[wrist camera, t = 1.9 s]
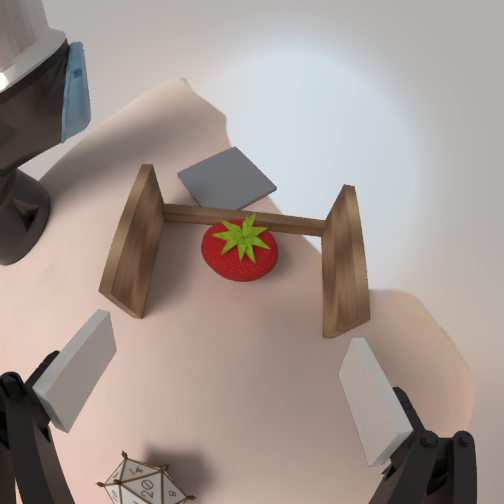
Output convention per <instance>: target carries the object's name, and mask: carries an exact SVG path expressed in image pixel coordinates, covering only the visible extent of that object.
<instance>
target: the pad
mask: <svg viewBox="0 0 504 504" xmlns="http://www.w3.org/2000/svg"><path fill="white" fill-rule="evenodd" d="M177 176H178V177H179V179H180V180H181V181H182V183H183V184H184V185H185V187H186V188H187V189H188V190H189V192H190V193H191V194H192V196H193V197H194V198H195V200H196V201H197V202H198V204H199V205H200V206H201V207H211V208H221V209H232V210H241V209H243V208H244V207H246V206H248V205H250V204H252V203H253V202H255V201H257V200H259V199H261V198H263V197H265V196H266V195H268V194H270V193H272V192H274V191H276V189H277V187H276V186H275V185H274V184H273V183H272V182H271V181H270V180H269V179H268V178H267V177H266V176H265V175H264V174H263V173H262V172H261V171H260V170H259V169H258V168H257V167H256V166H255V165H254V164H253V163H252V162H251V161H250V160H249V159H248V158H247V157H246V156H245V155H244V154H243V153H242V152H241V151H240V150H238V148H236V147H233V148H230V149H228V150H226V151H224V152H221V153H219V154H217V155H214V156H212V157H210V158H208V159H206V160H204V161H201V162H199V163H197V164H195V165H193V166H191V167H189V168H187V169H185V170H183V171H181V172H179V173H177Z"/></svg>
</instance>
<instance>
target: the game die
mask: <svg viewBox="0 0 504 504" xmlns="http://www.w3.org/2000/svg"><path fill="white" fill-rule="evenodd" d="M121 455H122V456H123V457H124V460H123V462H122V463H121V464H120V465H119V467H118V468H117V469H116V470H115V472H114V473H113V474H112V475H111V476H110V478H109V479H108V480H107V481H106V482H105V484H103V483H100V482H99V483H96V484H97V485H98V486H99V487H105V489H106V491H107V493H108V494H109V496H110V498H111V500H112V501H113V503H114V504H184V503H185V502H186V500H187V499H190V500H194V499H196V497H194V496H193V495H192V496H191V495H190V496H187V495H186V494H185V493H184V492H183V491H182V490H181V488H180V487H179V486H178V485H177V484H176V483H175V481H174V480H173V479H172V478H171V476H170V475H169V474H168V473H167V471H166V470H167V468H168V464H167V465H164V466H161V468H160V467H156V466H152V465H149V464H145V463H142V462H138V461H135V460H132V459H129V458H127V453H125V452H124V451H122V454H121Z"/></svg>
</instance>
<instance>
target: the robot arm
mask: <svg viewBox="0 0 504 504" xmlns="http://www.w3.org/2000/svg"><path fill="white" fill-rule="evenodd" d="M90 119H91V110H90V99H89V90H88V82H87V73H86V64H85V56H84V50H83V44H82V43H81V42H73V43H71V45H69V44H68V42H67V38H66V35H65V33H64V32H63V31H59V30H55V29H51V28H50V27H49V26H48V23H47V19H46V16H45V11H44V7H43V3H42V0H0V265H9V264H12V263H14V262H16V261H18V260H19V259H20V258H22V257H23V256H24V255H25V254H26V253H27V252H28V251H29V250H30V249H31V248H32V246H33V245H34V244H35V242H36V241H37V239H38V238H39V236H40V234H41V232H42V230H43V228H44V226H45V224H46V221H47V218H48V214H49V209H50V200H49V196H48V193H47V192H46V190H45V189H44V188H43V186H42V185H41V184H40V183H39V182H38V181H37V180H35V179H33V178H32V177H30V176H28V175H27V174H25V173H24V172H22V171H21V170H19V169H18V167H19V166H21V165H22V164H24V163H26V162H27V161H29V160H31V159H32V158H34V157H36V156H37V155H39V154H41V153H43V152H44V151H46V150H48V149H50V148H52V147H54V146H55V145H58V144H59V143H64V142H65V140H66V139H68V138H70V137H72V136H74V135H76V134H78V133H79V132H81V131H83V130H84V129H85V128H86V127H87V126H88V124H89V122H90ZM116 351H117V349H116V344H115V339H114V334H113V329H112V323H111V317H110V312H109V311H104V310H99V309H98V310H97V311H96V312H95V313H94V314H93V316H92V317H91V318H90V319H89V320H88V321H87V322H86V323H85V324H84V326H83V327H82V328H81V329H80V330H79V331H78V332H77V333H76V335H75V336H74V337H73V338H72V339H71V340H70V341H69V343H68V344H67V345H66V346H65V347H64V348H63V350H62V351H61V352H59V351H57V350H56V351H54V352H52V353H51V354H49V355H48V356H47V357H46V358H45V359H44V360H43V363H41V364H40V365H39V366H38V368H37V369H36V370H35V371H34V372H33V374H32V375H31V376H30V377H29V378H28V380H27V381H26V382H25V383H23V381H22V379H21V377H20V375H19V374H18V373H16V372H6V373H4V374H3V375H1V376H0V504H16V491H15V477H16V482H17V486H18V489H19V493H20V496H21V500H22V503H23V504H75V502H74V500H73V498H72V495H71V493H70V490H69V488H68V485H67V483H66V480H65V477H64V474H63V472H62V469H61V466H60V463H59V460H58V456H57V453H56V450H55V446H54V442H53V439H52V435H51V431H50V428H49V425H48V424H49V422H50V420H51V421H52V423H53V424H54V426H55V427H56V428H58V429H60V430H62V431H64V432H66V433H69V431H70V429H71V427H72V425H73V424H74V422H75V420H76V418H77V416H78V415H79V413H80V411H81V409H82V408H83V406H84V404H85V402H86V401H87V399H88V397H89V395H90V394H91V392H92V390H93V389H94V387H95V385H96V384H97V382H98V380H99V379H100V377H101V375H102V374H103V372H104V370H105V369H106V367H107V366H108V364H109V362H110V361H111V359H112V358H113V356H114V354H115V353H116ZM338 375H339V378H340V381H341V384H342V387H343V389H344V392H345V395H346V398H347V401H348V404H349V407H350V410H351V413H352V415H353V418H354V421H355V424H356V427H357V430H358V434H359V437H360V440H361V443H362V446H363V449H364V452H365V455H366V459H367V462H368V465H369V467H371V466H376V465H381V464H384V463H385V462H386V461H387V460H388V459H389V458H390V459H391V462H392V463H391V464H390V465H389V466H388V467H387V468H386V469H385V470H384V471H383V472H382V474H384V473H385V472H386V473H385V475H384V477H383V479H382V481H381V483H380V484H379V486H378V488H377V490H376V492H375V493H374V495H373V497H372V499H371V500H370V502H369V504H477V468H476V455H475V443H474V439H473V437H472V435H471V434H470V433H468V432H467V431H458V432H457V433H455V435H454V436H453V437H452V438H439V437H438V436H437V435H436V434H435V433H434V432H432V431H428V430H425V428H424V426H423V425H422V423H421V421H420V419H419V417H418V415H417V413H416V411H415V409H414V408H413V406H412V404H411V402H410V400H409V398H408V397H407V395H406V393H405V392H404V391H403V390H402V389H400V388H399V387H393V388H392V387H391V385H390V383H389V381H388V379H387V378H386V376H385V374H384V372H383V370H382V368H381V367H380V365H379V363H378V361H377V359H376V357H375V356H374V354H373V352H372V350H371V349H370V347H369V345H368V343H367V341H366V340H365V338H352V339H351V342H350V345H349V348H348V350H347V353H346V356H345V358H344V361H343V364H342V366H341V369H340V371H339V374H338Z"/></svg>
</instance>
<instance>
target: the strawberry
mask: <svg viewBox="0 0 504 504" xmlns="http://www.w3.org/2000/svg"><path fill="white" fill-rule="evenodd" d="M255 215H256V213H255V214H253V215H252V216H250V217H249V218H248V219H247V216H246V220H226V221H223V220H221V222H219V223H217V224H215V225H213V226H212V227H211V228H209V229H208V231H207V232H206V233H205V235H204V237H203V241H202V245H201V251H202V255H203V258H204V260H205V261H206V263H207V264H208V265H209V266H210V267H211V268H212V269H213V270H214V271H215V272H216V273H218V274H219V275H220V276H222V277H224V278H226V279H229V280H233V281H239V282H247V281H253V280H256V279H259V278H260V277H262V276H264V275H265V274H267V273H268V272H269V271H271V270H272V269H273V268H274V266H275V265H276V262H277V259H278V249H277V244H276V241H275V239H274V238H273V236H272V235H271V234H270V233H269V232H268V231H267V230H266V229H267V228H265V227H261V226H260V225H257V224H255V223H253V221H254V218H255Z"/></svg>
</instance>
